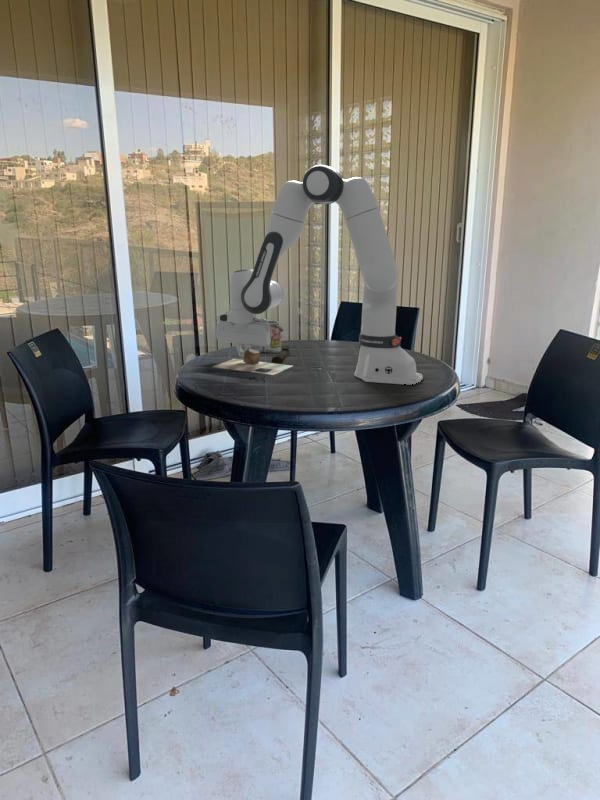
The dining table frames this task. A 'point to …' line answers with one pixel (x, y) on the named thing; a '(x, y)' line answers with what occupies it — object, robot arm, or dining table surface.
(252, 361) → the walnut cube
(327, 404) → the dining table surface
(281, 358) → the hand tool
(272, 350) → the beverage can
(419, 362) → the dining table surface
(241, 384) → the dining table surface
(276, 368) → the birch board
